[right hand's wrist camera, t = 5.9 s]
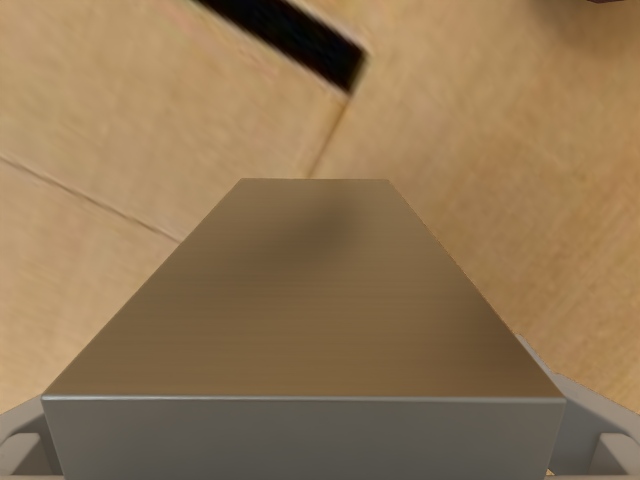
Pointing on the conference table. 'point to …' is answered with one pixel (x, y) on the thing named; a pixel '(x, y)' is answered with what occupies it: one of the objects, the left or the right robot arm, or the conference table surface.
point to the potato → (603, 1)
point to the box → (306, 355)
